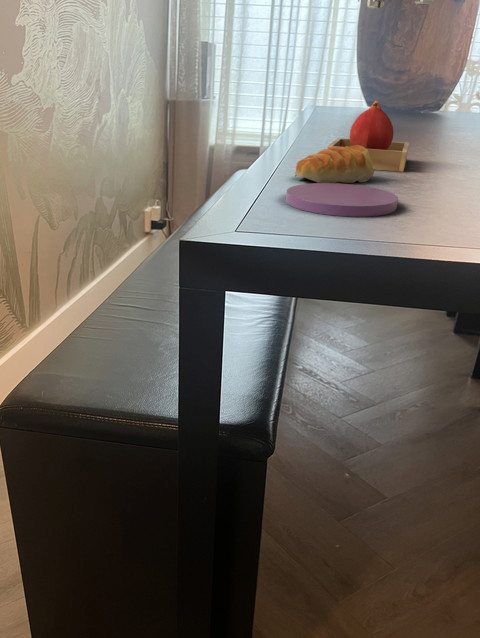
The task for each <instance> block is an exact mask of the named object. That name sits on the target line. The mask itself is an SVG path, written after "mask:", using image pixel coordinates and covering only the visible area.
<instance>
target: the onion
mask: <svg viewBox="0 0 480 638" xmlns="http://www.w3.org/2000/svg"><path fill="white" fill-rule="evenodd" d="M349 139H350V143H351V146H354V145H360V146H363V147H364V148H366V149H380V150H387V149H388V148H389V146H390V145H391V142H393V139H394V126H393V123H392V121H391V119H390V116H388V114H387V113H386V112H385V111H384V110H383V109H382V108H381V102H379V101H378V100H375V101H374V102H373V103H372V104H371V106H370V107H369V108H368V109H365V110H364V111H363V112H361V113H360V114H359V115H358V116H357V117H356V118H355V120H354V122H353V123H352V124H351V127H350V131H349Z"/></svg>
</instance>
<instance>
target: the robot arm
mask: <svg viewBox="0 0 480 638" xmlns="http://www.w3.org/2000/svg"><path fill="white" fill-rule="evenodd" d="M414 3H415V5H419V6H425V5H426V6H429V5H430V6H431V5H433V4H434V3H435V0H414ZM385 4H386V3H385V0H367V3H366V6H367V8H368V9H382V8H383V7H385Z"/></svg>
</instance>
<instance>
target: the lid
mask: <svg viewBox="0 0 480 638" xmlns="http://www.w3.org/2000/svg"><path fill="white" fill-rule="evenodd" d="M285 202H286V204H287V205H289V206H290V207H293V208H295V209H297V210H301V211H304V212H308V213H312V214H320V215H326V216H334V217H349V218H350V217H351V218H353V217H354V218H357V217H358V218H361V217H362V218H363V217H364V218H365V217H366V218H367V217H368V218H369V217H381V216H384V215H388V214H389V215H390V214H392V213H394V212H396V210H397V207H398V202H399V197H398V195H396V194H395V193H393V192H390V191H388V190H385V189H381V188H378V187H372V186H366V185H358V184H353V183H339V182H338V183H317V182H313V183H303V184H302V183H301V184H297V185H293V186H289V187H288V188H287V189H286V193H285Z"/></svg>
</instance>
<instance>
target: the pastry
mask: <svg viewBox="0 0 480 638" xmlns="http://www.w3.org/2000/svg"><path fill="white" fill-rule="evenodd" d="M374 173H375V170H374V167H373V164H372V160H371V158H370V156H369V151H368V150H367V149H366V148H364V147H363V146H360V145H354V146H351V147H347V146H346V147H329V148H328V147H327V148H324V149H321V150H319V151H317V152H316V153H313V154H308V155H307V156H306V157H304V158H302V159H300V160H299V161H297V162H296V165H295V172H294V177H295V178H296V177H297V176H298V177H301V178H303V179H308V180H310V181H313V182H315V183H338V184H339V183H343V184H353V183H355V182H358V183H366V182H368V181H369V180H370V178H371V177H372V176H373V175H374Z"/></svg>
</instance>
